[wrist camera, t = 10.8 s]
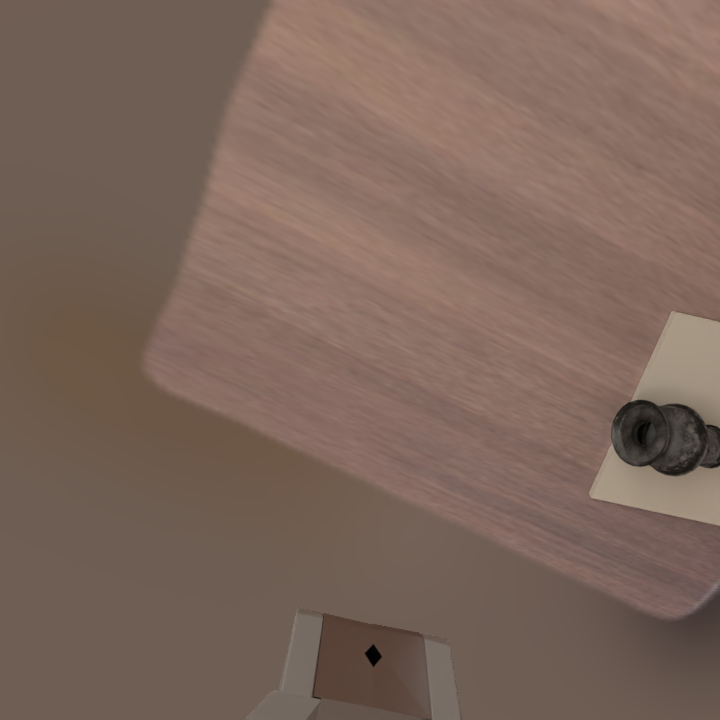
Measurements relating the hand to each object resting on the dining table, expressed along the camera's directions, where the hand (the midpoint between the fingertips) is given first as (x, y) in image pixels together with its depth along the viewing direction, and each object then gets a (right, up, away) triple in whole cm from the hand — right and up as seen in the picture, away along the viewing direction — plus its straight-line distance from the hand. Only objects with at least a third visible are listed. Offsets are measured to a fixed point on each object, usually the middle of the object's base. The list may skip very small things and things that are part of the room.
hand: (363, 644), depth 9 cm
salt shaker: (+22, 0, +27) cm, 35 cm away
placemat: (+30, 0, +32) cm, 44 cm away
